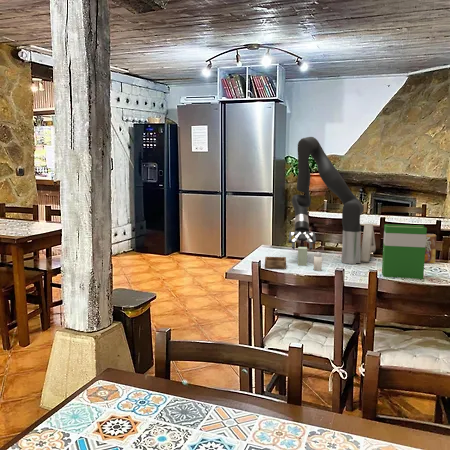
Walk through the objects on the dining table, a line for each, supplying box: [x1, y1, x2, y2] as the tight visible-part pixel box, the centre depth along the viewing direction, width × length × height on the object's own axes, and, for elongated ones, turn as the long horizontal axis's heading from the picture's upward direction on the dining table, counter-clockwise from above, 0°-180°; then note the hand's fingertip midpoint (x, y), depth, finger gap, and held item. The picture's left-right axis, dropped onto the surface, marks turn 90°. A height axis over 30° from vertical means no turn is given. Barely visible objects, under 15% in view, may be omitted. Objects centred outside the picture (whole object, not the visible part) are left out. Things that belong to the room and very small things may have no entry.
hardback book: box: [381, 223, 428, 280], centre depth 214 cm, size 18×7×24 cm, turn 77°
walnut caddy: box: [264, 256, 287, 270], centre depth 232 cm, size 11×10×4 cm
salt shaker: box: [313, 251, 323, 272], centre depth 226 cm, size 4×4×9 cm
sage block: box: [297, 246, 308, 267], centre depth 236 cm, size 4×4×9 cm
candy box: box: [424, 233, 437, 264], centre depth 242 cm, size 9×4×15 cm, turn 81°
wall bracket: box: [360, 223, 377, 264], centre depth 258 cm, size 22×4×30 cm
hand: (302, 249), depth 238 cm, fingers open, 8 cm apart
